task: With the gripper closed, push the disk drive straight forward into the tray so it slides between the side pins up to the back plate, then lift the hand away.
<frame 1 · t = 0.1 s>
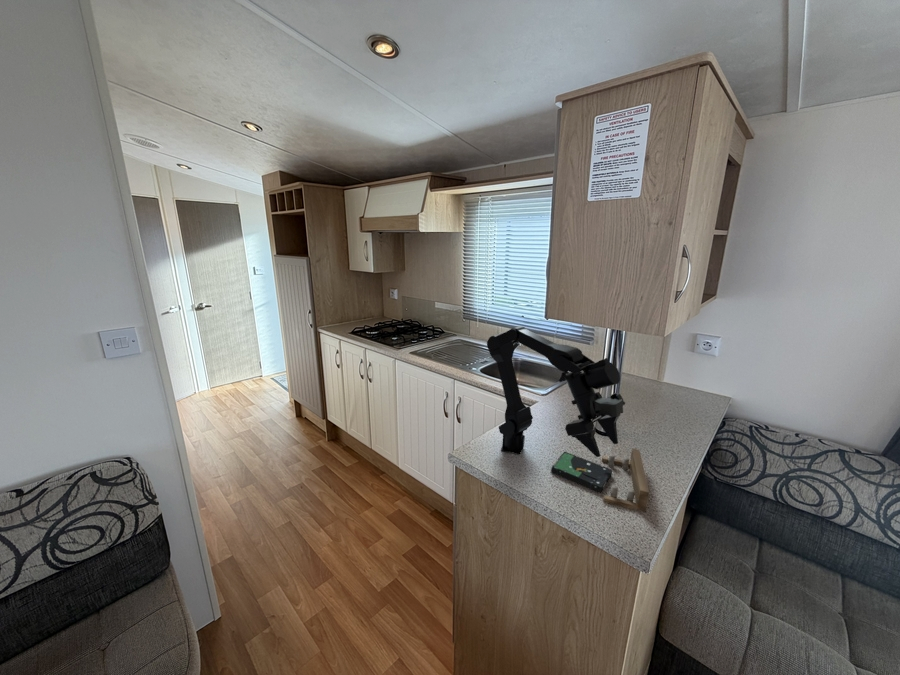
hand: (607, 450, 91), 15 cm above the counter, tool tilted 30°, fingers open, 9 cm apart
drive tray: (602, 478, 103), on the counter
disk drive: (580, 476, 105), on the counter
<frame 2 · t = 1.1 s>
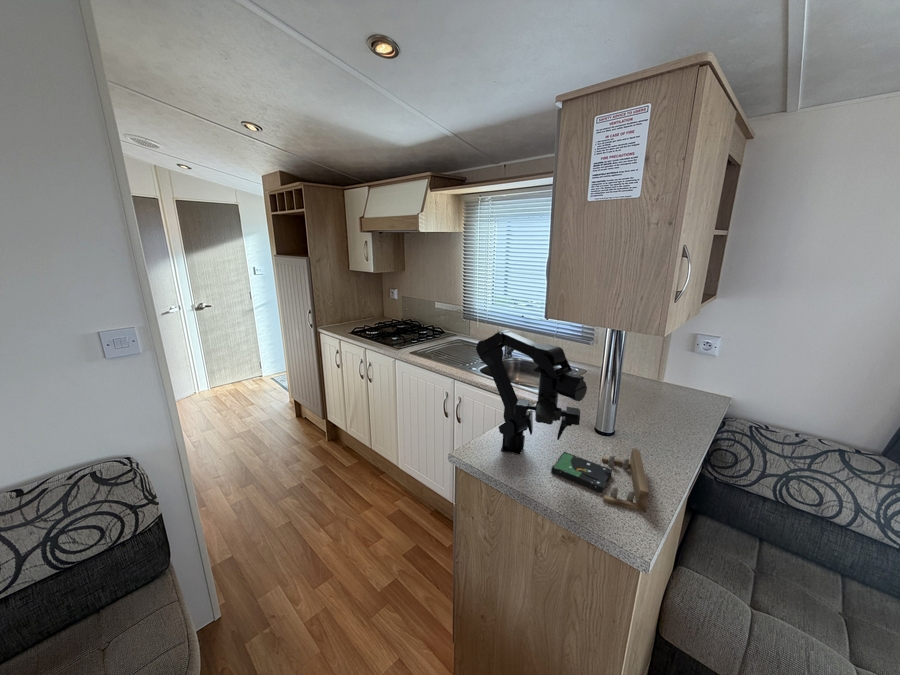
hand: (544, 436, 106), 10 cm above the counter, tool pointing down, fingers open, 8 cm apart
nothing on the counter moved.
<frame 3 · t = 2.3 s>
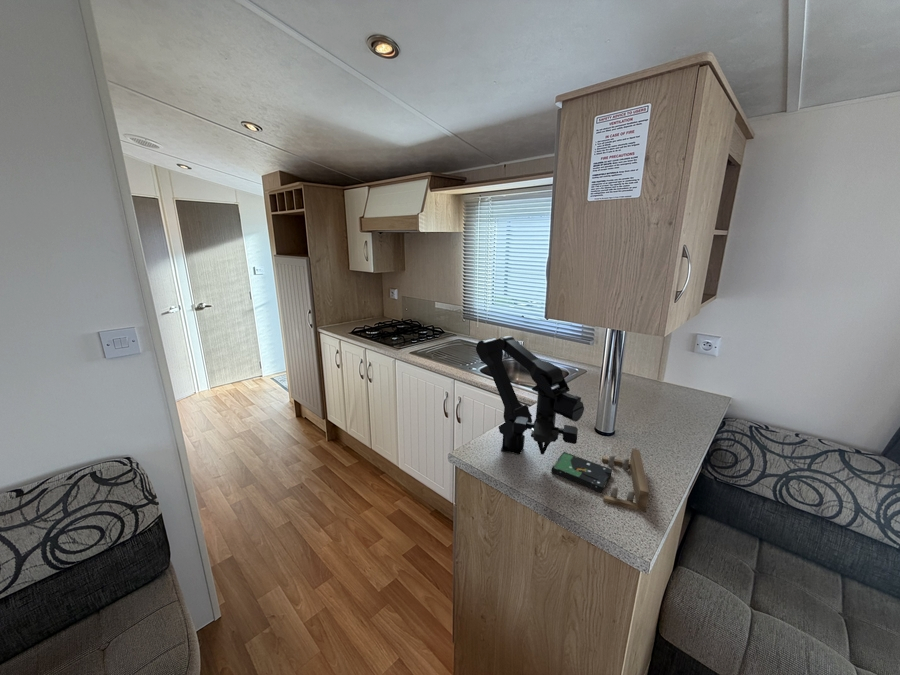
hand: (542, 453, 108), 4 cm above the counter, tool pointing down, fingers closed
nothing on the counter moved.
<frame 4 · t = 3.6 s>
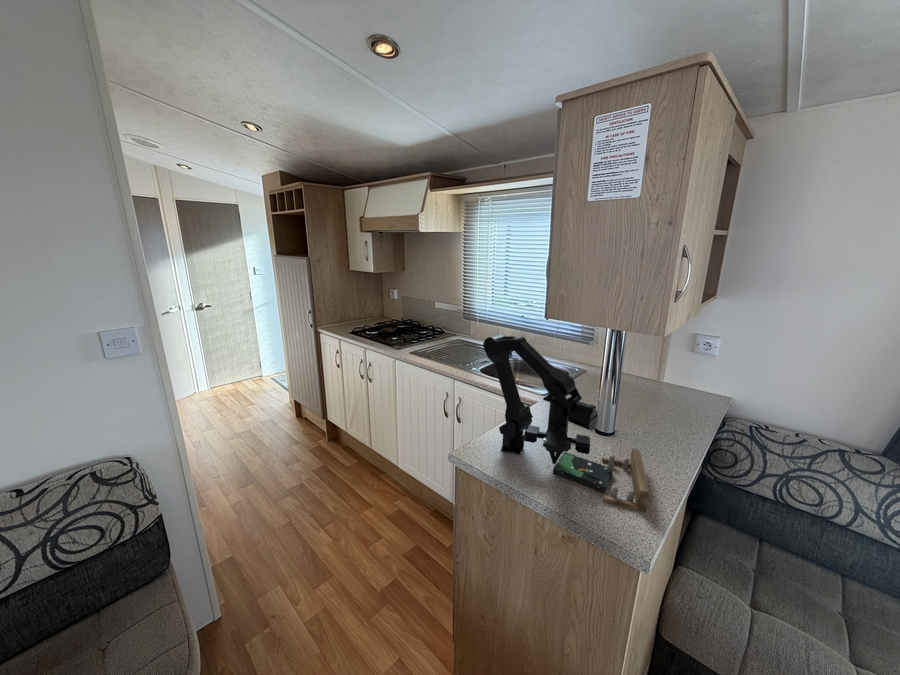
hand: (554, 463, 107), 2 cm above the counter, tool pointing down, fingers closed
disk drive: (582, 476, 105), on the counter, touching gripper
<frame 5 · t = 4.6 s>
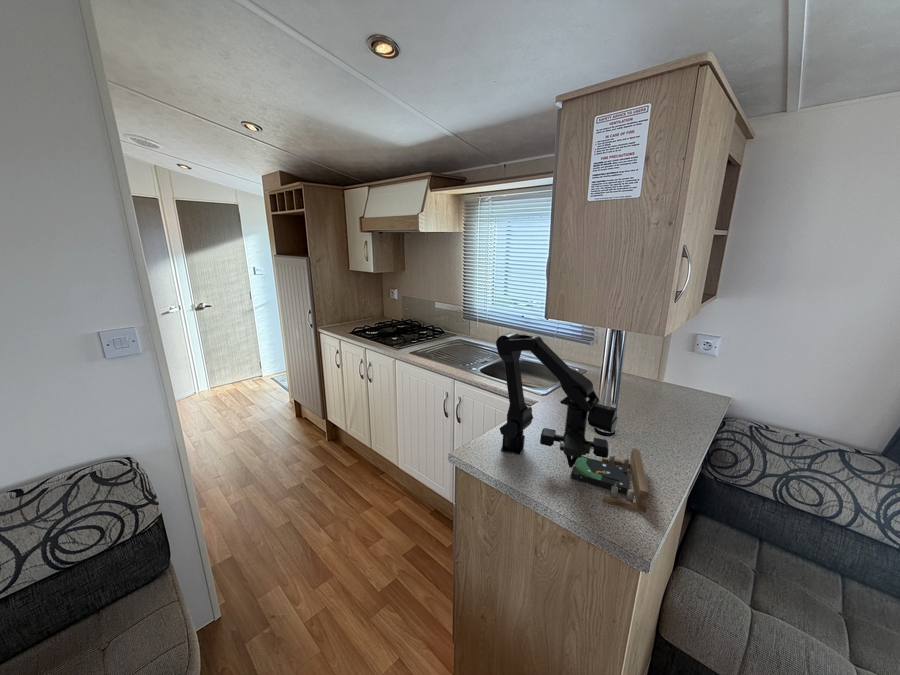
hand: (570, 466, 106), 2 cm above the counter, tool pointing down, fingers closed
disk drive: (598, 478, 104), resting in drive tray, touching gripper
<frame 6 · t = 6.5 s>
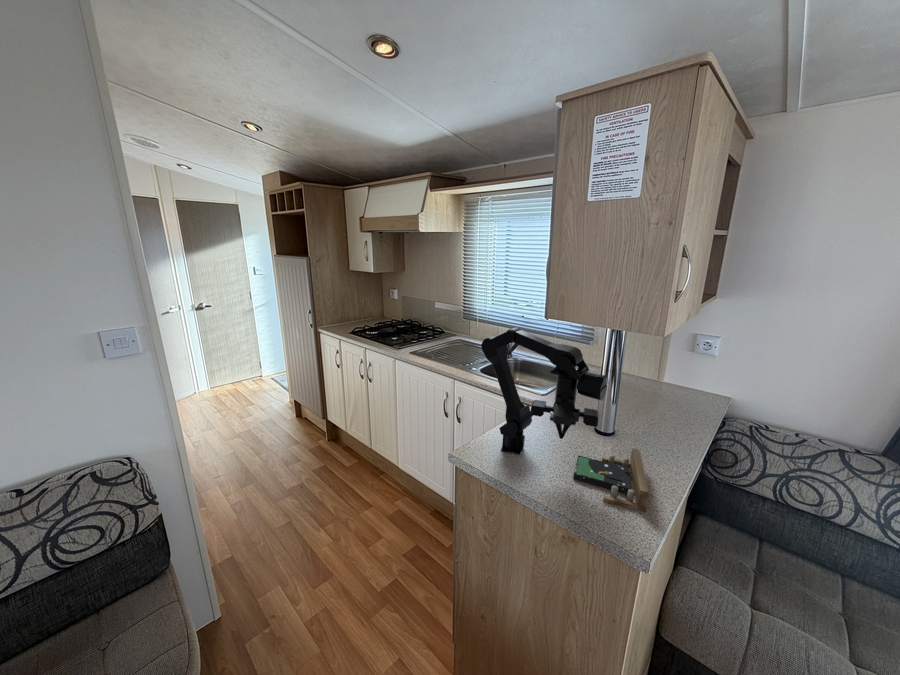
hand: (561, 438, 105), 10 cm above the counter, tool pointing down, fingers closed
disk drive: (601, 478, 104), resting in drive tray
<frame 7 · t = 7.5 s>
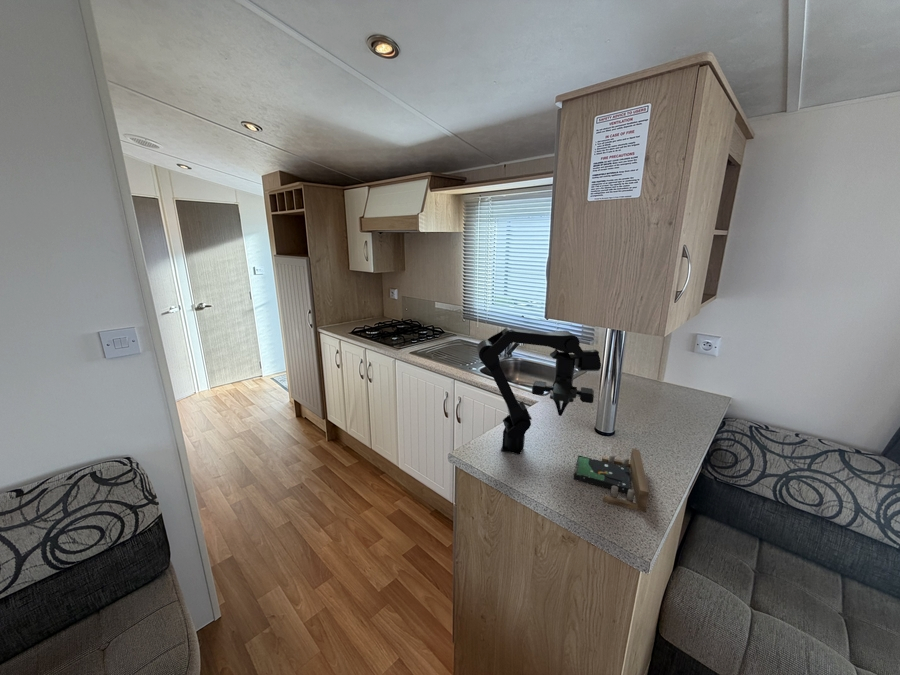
hand: (560, 415, 115), 12 cm above the counter, tool pointing down, fingers closed
nothing on the counter moved.
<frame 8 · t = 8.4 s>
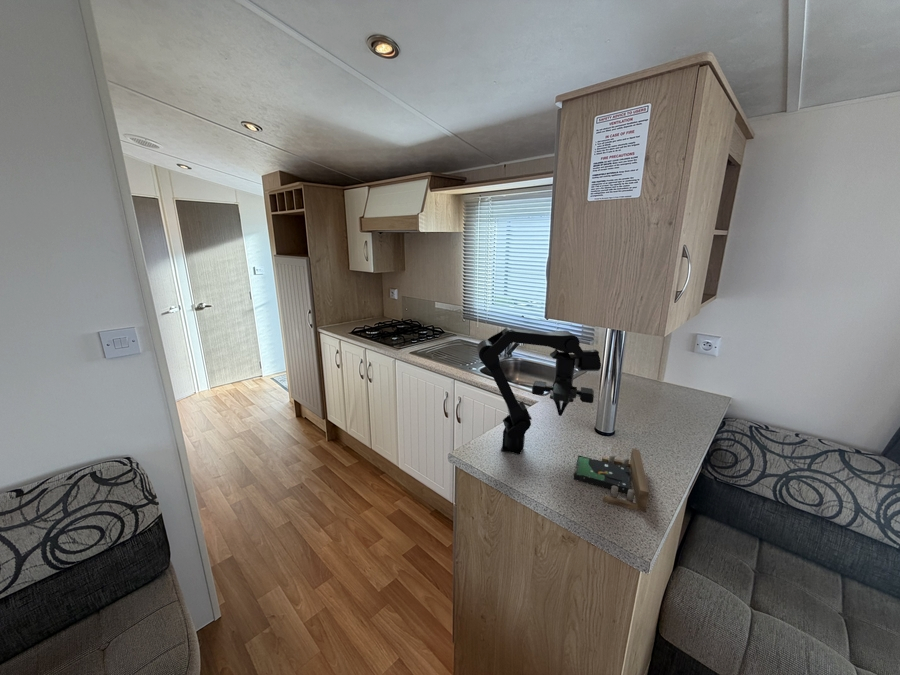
hand: (560, 415, 115), 12 cm above the counter, tool pointing down, fingers closed
nothing on the counter moved.
at the end: disk drive 0.9 cm off-centre on the drive tray, point -0.7 cm above the drive tray's base; disk drive tilted 0°; disk drive moved 5.8 cm from its start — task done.
